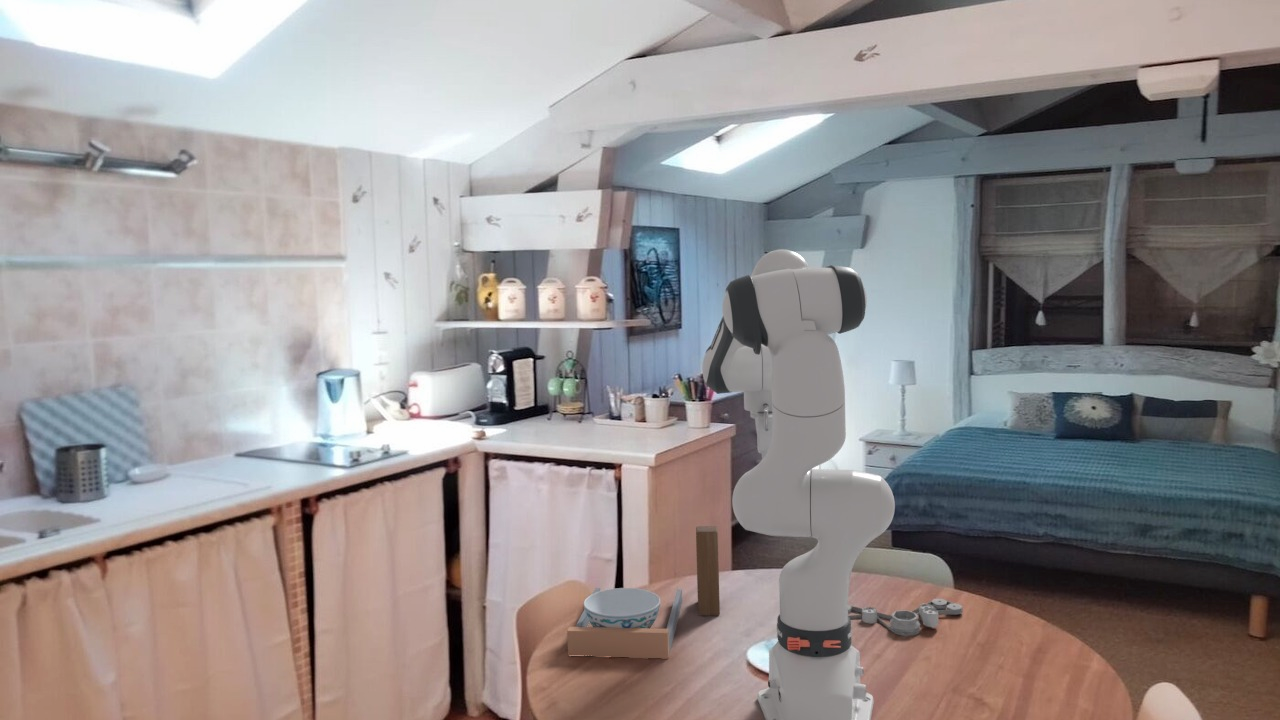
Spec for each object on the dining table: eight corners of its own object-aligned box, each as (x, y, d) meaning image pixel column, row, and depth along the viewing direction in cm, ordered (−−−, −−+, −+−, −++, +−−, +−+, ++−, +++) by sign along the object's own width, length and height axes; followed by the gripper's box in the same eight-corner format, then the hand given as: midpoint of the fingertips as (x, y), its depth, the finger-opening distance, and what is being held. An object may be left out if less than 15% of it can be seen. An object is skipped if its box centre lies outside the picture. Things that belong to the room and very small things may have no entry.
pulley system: (980, 639, 176) (956, 606, 191) (980, 616, 175) (955, 585, 190) (838, 647, 177) (824, 614, 192) (837, 624, 176) (823, 592, 191)
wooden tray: (668, 659, 169) (667, 633, 169) (568, 656, 172) (567, 630, 171) (682, 602, 198) (681, 580, 197) (596, 601, 200) (595, 579, 200)
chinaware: (573, 633, 183) (572, 596, 182) (640, 619, 189) (639, 583, 188) (603, 661, 169) (602, 621, 168) (674, 644, 176) (673, 605, 175)
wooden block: (698, 600, 199) (696, 520, 197) (719, 600, 198) (717, 519, 197) (698, 616, 190) (695, 531, 188) (719, 616, 189) (717, 531, 188)
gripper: (782, 408, 178) (783, 477, 179) (779, 394, 198) (780, 456, 199) (749, 408, 179) (751, 477, 180) (750, 394, 199) (751, 457, 200)
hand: (766, 466), depth 190 cm, fingers closed
